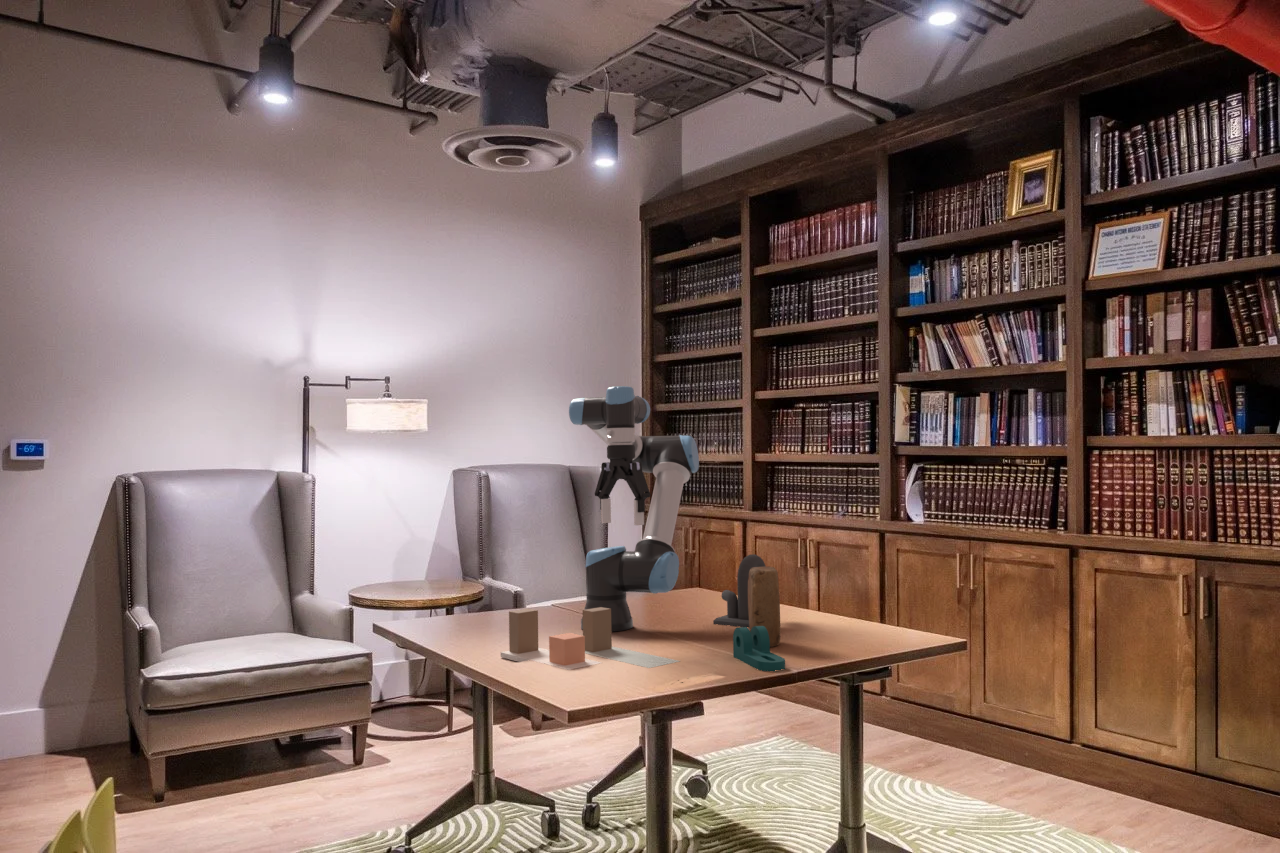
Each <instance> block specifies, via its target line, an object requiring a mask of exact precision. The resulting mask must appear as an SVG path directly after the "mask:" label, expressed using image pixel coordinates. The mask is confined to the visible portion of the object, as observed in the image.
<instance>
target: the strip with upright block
mask: <svg viewBox="0 0 1280 853" xmlns="http://www.w3.org/2000/svg"><path fill="white" fill-rule="evenodd" d="M582 617H583V629H582V636H585V655H586V654H587V655H590V656H596V657H600V658H604V659H609V660H613V661H616V662H617V661H618V662H621V663H625V664H628V665H629V664H630V665H633V666H634V665H635V666H638V667H642V668H647V669H651V668H656V667H660V666H665V665H669V664H670V665H671V664H675V663H680V662H681V660H678V659H672V658H668V657H664V656H658V655H653V654H650V653H644V652H640V651H636V650H631V649H625V648H622V647H616V646H613V645H612V644H613V643H612V642H613V641H612V632H611V609H609V608H603V607H599V608H592V609H586V610H584V609H582Z"/></svg>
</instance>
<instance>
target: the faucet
mask: <svg viewBox="0 0 1280 853" xmlns="http://www.w3.org/2000/svg"><path fill="white" fill-rule="evenodd" d="M753 567H767V566H766V564H765V561H764V560H763V559H762V558H761V556H759V555H757V554H754V553H753V554H748V555H747V556H745V557H744V558H743V559H742V560H741V562H740V564H739V567H738V570H737V580H736V581H737V594H736V593H735V592H734V591H732V590H729V589H724V590H723V591H722V592H721V598H722V600H723V601H725V602H726V611H727V613H726V614H725V615H722V616H718V617H715V618H714V620H713V623H712V624H713V625H716V624H718V625H719V626H727V625H730V626H729V627H737V626H740V627H749V613H748V577H749V571H750V569H751V568H753ZM718 625H717V626H718ZM740 627H739V628H740Z"/></svg>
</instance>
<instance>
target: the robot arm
mask: <svg viewBox="0 0 1280 853" xmlns="http://www.w3.org/2000/svg"><path fill="white" fill-rule="evenodd" d="M650 414H651V406H650V404H649V402H648V401H647V399H645V398H644V397H641V396H639V395H635V391H634V387H632V386H626V385H625V386H621V385H620V386H619V385H618V386H609V387H608V388H607V389H606V394H605V396H603V397H599V396H598V397H597V396H596V397H580V398H579V397H578V398H573V399H572V400H571V401H570V403H569V407H568V416H569V420H570V422H571V423H572V424H573V425H577V426H578V425H579V426H583V425H584V426H587V427H588V428H589V429H590V430H591V431H592V432H593V433H594V434H595V435H597V436H598V437H599V438H600V439H601V440H602V441H603V442H604V443H605V444H606V445H607V446H606V458H607V459H608V460H609V462H602V463H601V467H600V468H601V470H600V474H599V477H598V480H597V484H596V486H595V491H594V496H595V497H598V499H599V501H600V502H599V507H600V508H599V509H600V514H601V515H600V516H601V517H600V518H601V519H600V520H601V524H610V523H611V522H612V518H611V517H612V515H611V514H612V510H611V509H612V507H611V502H612V501H611V500H612V499H611V497H610V495H611V493H612V491H613V489H614V487H615V485H616V483H617V481H620V480H623V481H625V482H626V483H627V485H628V487H629V489H630V490H631V492H632V494H633V496H634V497H635V498H634V500H633V522H634V523H633V526H644V525H645V528H644V530H643V536H642V539H640V540H638V541H637V542H636V544H635V549H634V550H633V551H632V550H631V551H630V550H629V551H627V548H626V546H624V545H618V546H610V547H603V548H597V549H593V550H589V551H588V552H587V554H586V557H585V583H586V584H585V586H586V588H585V591H586V592H585V593H586V597H585V598H586V602H585V606H584V609H583V610H586V609H592V608H599V607H603V608H609V609H611V633H613V632H619V631H620V632H621V631H627V630H630V629H632V628H633V627H634V626H633V625H634V619H633V616H632V614H631V610H630V607H629V604H628V600H627V593H651V594H654V595H655V594H661V593H662V594H663V593H664V594H665V593H669V592H670V591H672V590H673V588H674V587H675V585H676V582H678V579H679V578H678V577H679V571H680V570H679V568H680V560H679V556H678V554H677V553H676V550H675V549H674V547H673V545H672V543H673V539H674V533H675V530H676V523H677V518H678V513H679V508H680V503H681V500H682V493H683V489H684V488H683V487H684V484H686V483H687V482H689V480H690V478H691V473H692V474H695V473H697V472H698V471H699V469H700V468H699V466H700V457H699V451H698V450H699V449H698V445H697V442H696V440H695V439H694V438H693V436H691V435H682V434H679V435H649V436H647V435H645V436H643V435H638V434H637V433H636V431H635V430H636V429H635V428H636V426H635V425H636V424H638V425H639V424H641V423H644V422H645V421H647V419H648V418H649V416H650ZM644 473H646V474H651V473H652V474H653V475H654V477H655V482H654V486H653V491H652V496H651V491H650V489H649V487H648V486H649V485H648V482H647V481H646V478H645V477H646V476H645V475H644ZM648 498H651V500H650V505H649V510H648V513H647V519H646V522H645V515H644V514H645V512H646V505H645V500H646V499H648ZM580 628H581V630H583V616H582V617H581V619H580Z"/></svg>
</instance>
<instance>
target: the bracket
mask: <svg viewBox="0 0 1280 853" xmlns="http://www.w3.org/2000/svg"><path fill="white" fill-rule="evenodd" d="M732 642H733V643H732V648H733V650H732V651H733V652H732V654H733V656H732V657H733V658H735V659H737V660H738V661H740V662H743V663H744V664H746V665H748V666H750V667H752V668H754V669H755V668H756V669H755V670H757V669H758V671H761V670H762V672H770V671H773V672H776V671H775V670H781V669H784V670H786V659H785V658H784V657H782V656H781V655H778V654H776V653H773V652H771V649H770V648H771V647H770V640H769V634H768V631H767V629H766V628H765V627H764V626H754V627H752V629H751V632H750V628H747V627H736V628H735V629H734V630H733V634H732Z"/></svg>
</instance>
